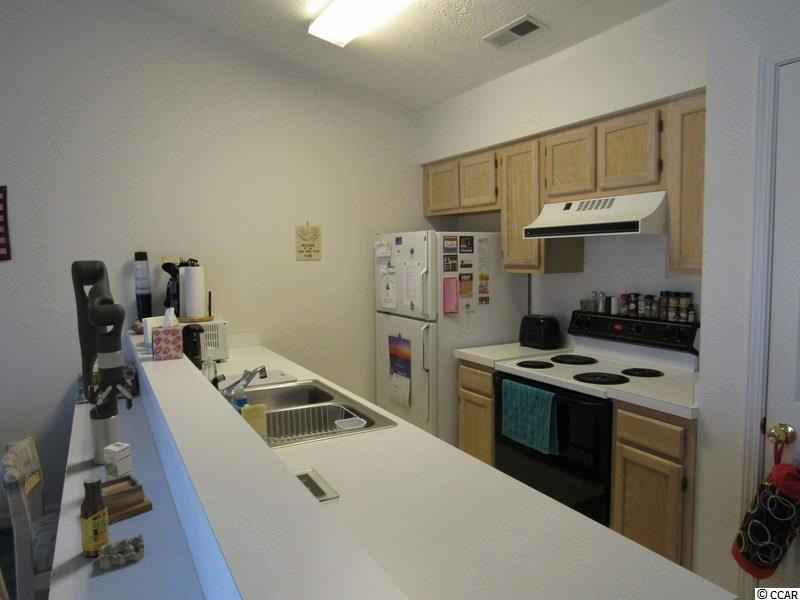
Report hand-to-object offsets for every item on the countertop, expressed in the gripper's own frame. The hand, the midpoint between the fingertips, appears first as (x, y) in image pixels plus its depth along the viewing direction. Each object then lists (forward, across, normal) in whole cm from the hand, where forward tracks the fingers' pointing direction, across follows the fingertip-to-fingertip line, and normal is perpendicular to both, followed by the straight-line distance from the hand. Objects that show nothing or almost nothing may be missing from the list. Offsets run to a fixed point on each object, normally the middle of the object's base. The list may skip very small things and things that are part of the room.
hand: (114, 412), depth 172 cm
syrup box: (+26, 0, +1) cm, 26 cm away
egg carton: (+27, +12, +44) cm, 53 cm away
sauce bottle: (+26, +16, +36) cm, 47 cm away
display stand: (+26, +4, +16) cm, 31 cm away
